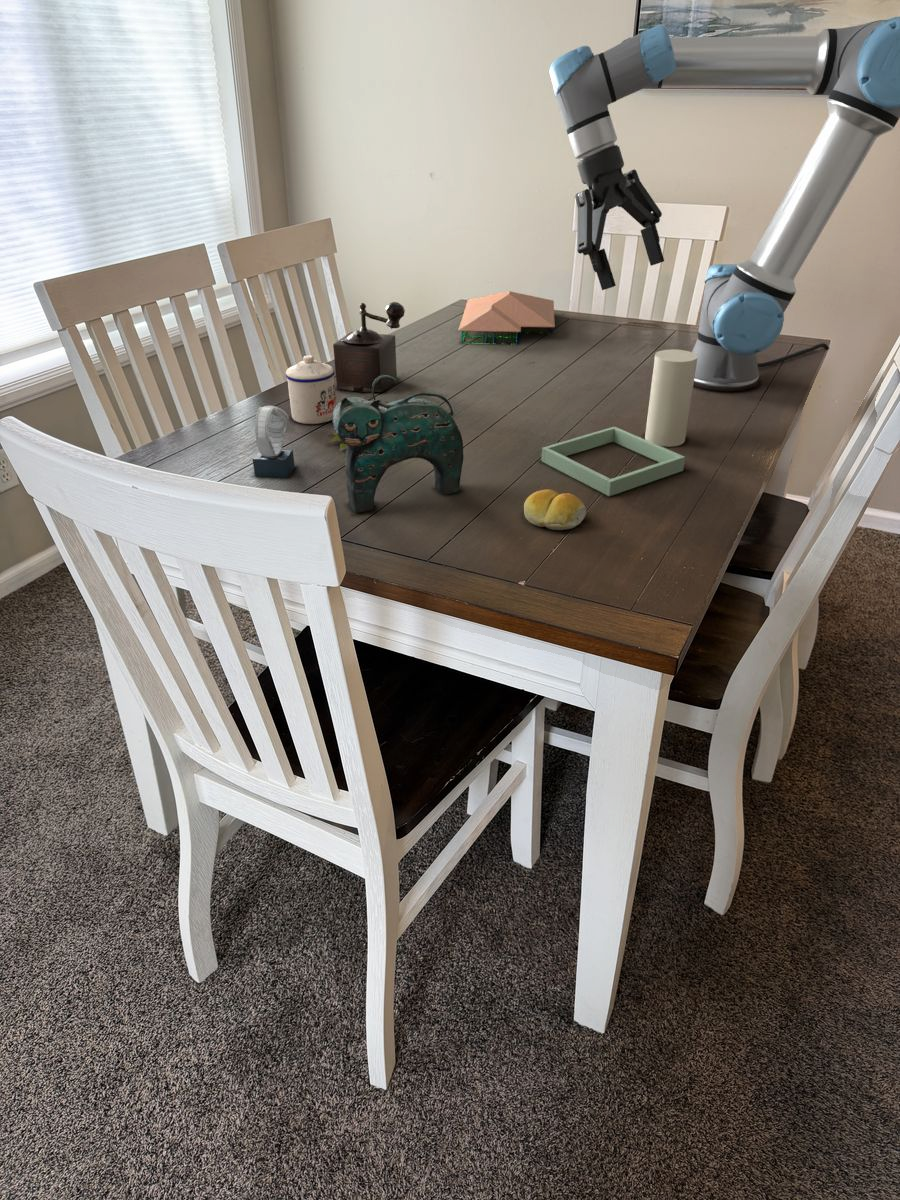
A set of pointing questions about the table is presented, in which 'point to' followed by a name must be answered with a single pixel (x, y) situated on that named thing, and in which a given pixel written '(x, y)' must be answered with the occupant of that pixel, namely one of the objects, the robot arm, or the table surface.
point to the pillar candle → (670, 397)
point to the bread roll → (554, 510)
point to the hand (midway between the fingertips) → (633, 275)
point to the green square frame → (665, 467)
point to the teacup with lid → (311, 391)
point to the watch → (272, 444)
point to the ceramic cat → (396, 442)
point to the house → (506, 314)
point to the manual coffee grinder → (368, 354)
